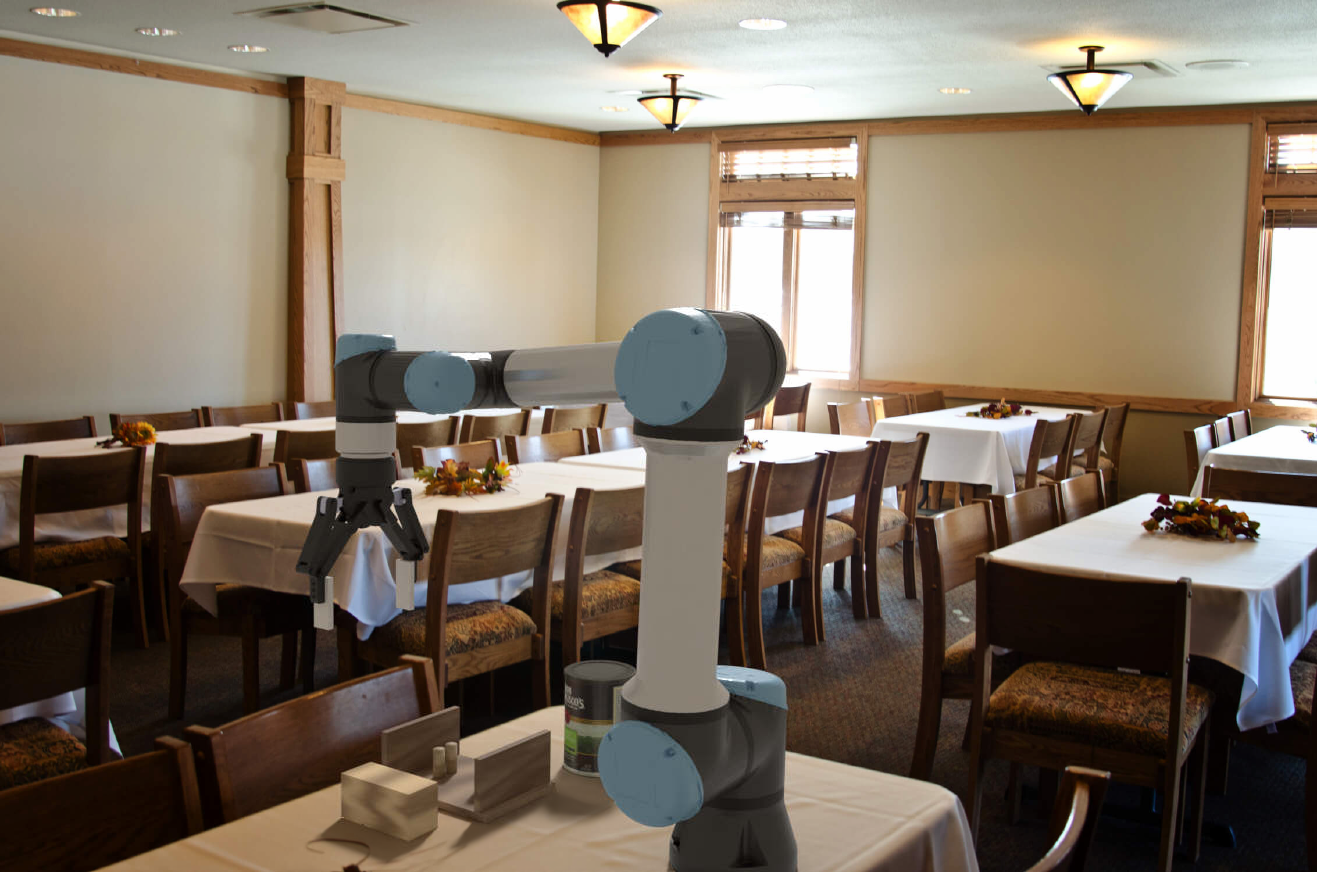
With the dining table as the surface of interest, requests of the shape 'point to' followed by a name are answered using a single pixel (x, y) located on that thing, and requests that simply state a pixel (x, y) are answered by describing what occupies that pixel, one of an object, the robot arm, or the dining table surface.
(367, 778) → the beam
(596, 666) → the coffee can
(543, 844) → the dining table surface
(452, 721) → the peg frame
